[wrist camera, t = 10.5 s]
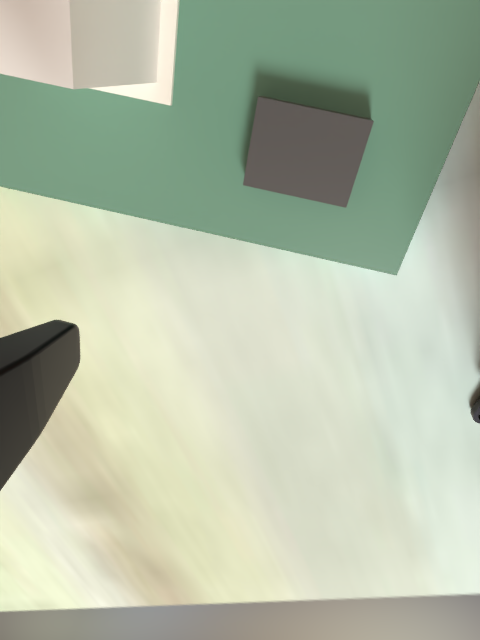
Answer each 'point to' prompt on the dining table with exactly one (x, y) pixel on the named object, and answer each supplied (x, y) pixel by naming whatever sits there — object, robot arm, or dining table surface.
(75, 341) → the robot arm
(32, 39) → the block
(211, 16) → the board
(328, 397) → the dining table surface
